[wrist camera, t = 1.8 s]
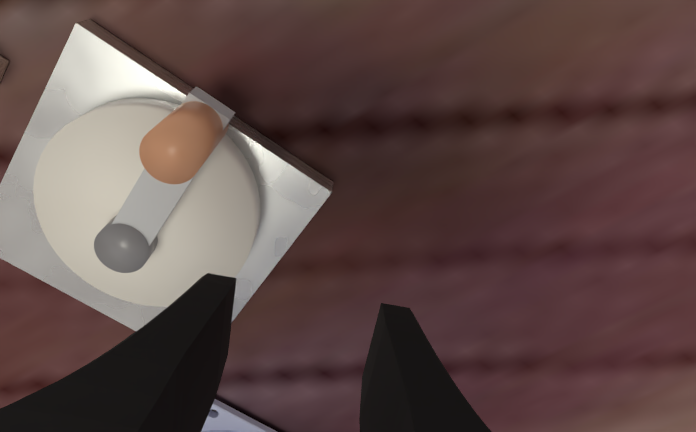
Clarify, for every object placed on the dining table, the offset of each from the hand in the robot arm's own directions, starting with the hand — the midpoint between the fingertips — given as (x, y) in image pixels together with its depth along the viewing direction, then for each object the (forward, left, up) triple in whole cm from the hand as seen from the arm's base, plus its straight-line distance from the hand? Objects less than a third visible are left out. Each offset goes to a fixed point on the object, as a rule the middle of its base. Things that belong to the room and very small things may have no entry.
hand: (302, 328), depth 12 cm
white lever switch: (+5, +4, -9) cm, 11 cm away
